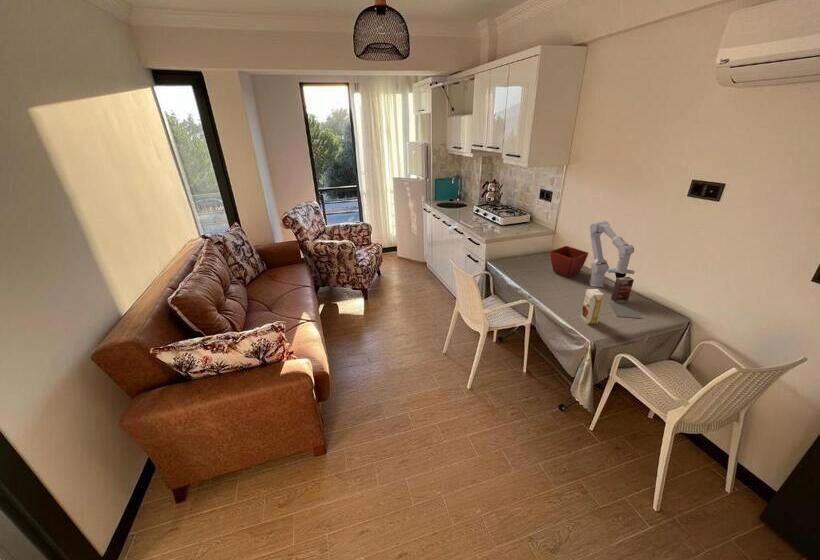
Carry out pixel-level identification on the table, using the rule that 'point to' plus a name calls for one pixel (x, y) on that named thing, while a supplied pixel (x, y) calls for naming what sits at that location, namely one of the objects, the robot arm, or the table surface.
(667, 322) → the table surface
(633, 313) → the mat
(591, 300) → the juice carton
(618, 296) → the supplement box
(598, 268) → the robot arm
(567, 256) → the plant pot
